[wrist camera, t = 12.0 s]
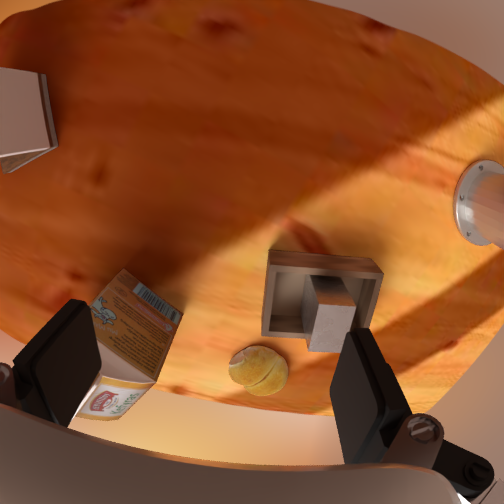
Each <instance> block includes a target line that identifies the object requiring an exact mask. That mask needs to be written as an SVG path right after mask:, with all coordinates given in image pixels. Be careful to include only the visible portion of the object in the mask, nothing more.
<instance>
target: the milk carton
mask: <svg viewBox="0 0 504 504" xmlns="http://www.w3.org/2000/svg"><path fill="white" fill-rule="evenodd" d="M89 307H90V309H91V314H92V319H93V324H94V329H95V334H96V339H97V343H98V347H99V352H100V356H101V360H102V367H101V370H100V371H99V373H98V375H97V376H96V378H95V380H94V381H93V383H92V385H91V387H90V388H89V390H88V392H87V393H86V395H85V397H84V399H83V400H82V402H81V404H80V406H79V407H78V409H77V411H76V413H75V415H74V416H76V417H81V418H86V419H91V420H102V421H110V420H118V419H119V418H120V417H121V416H122V415H124V414H125V413H126V412H127V410H129V409H130V408H131V407H132V406H133V405H134V404H135V402H137V401H138V400H139V399H140V398H141V397H142V396H143V395H144V394H145V393H146V392H147V391H148V390H149V389H150V388H151V387H152V386H153V385H154V384H155V383H156V382H157V379H158V377H159V374H160V371H161V369H162V366H163V364H164V361H165V359H166V356H167V354H168V351H169V349H170V346H171V344H172V341H173V339H174V336H175V334H176V331H177V329H178V326H179V324H180V321H181V319H182V316H183V314H182V313H181V312H180V311H178V310H177V309H176V308H174V307H173V306H172V305H170V304H169V303H168V302H166V301H165V300H164V299H162V298H161V297H160V296H158V295H157V294H156V293H154V292H153V291H152V290H151V289H149V288H148V287H147V286H145V285H144V284H143V283H142V282H140V281H139V280H138V279H136V278H135V277H134V276H133V275H131V274H130V273H129V272H128V271H126V270H125V269H124V268H123V269H122V270H121V271H120V272H119V273H118V274H117V275H116V276H115V277H114V279H113V280H112V281H111V282H110V283H109V284H108V285H107V286H106V287H105V288H104V289H103V290H102V291H101V292H100V294H99V295H98V296H97V297H96V298H95V299H94V300H93V301H92V302H91V303H90V304H89ZM74 416H73V418H74ZM73 418H72V419H73ZM71 421H72V420H71Z"/></svg>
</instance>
